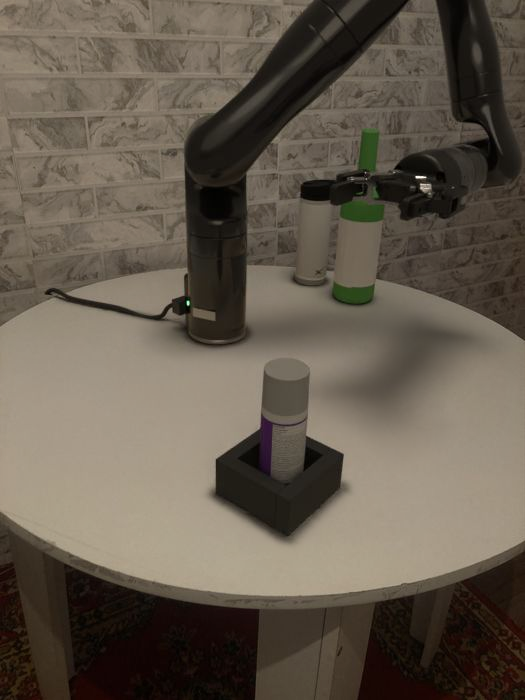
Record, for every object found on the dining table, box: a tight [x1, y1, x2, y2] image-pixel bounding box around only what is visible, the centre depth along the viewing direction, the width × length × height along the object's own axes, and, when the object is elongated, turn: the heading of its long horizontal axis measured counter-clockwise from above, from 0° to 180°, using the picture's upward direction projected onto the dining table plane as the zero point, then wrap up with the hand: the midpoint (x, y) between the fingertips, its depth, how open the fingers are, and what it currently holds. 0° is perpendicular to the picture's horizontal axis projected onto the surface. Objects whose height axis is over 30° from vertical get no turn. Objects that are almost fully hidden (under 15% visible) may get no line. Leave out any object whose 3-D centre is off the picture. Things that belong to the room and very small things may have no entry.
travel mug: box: [294, 178, 336, 287], centre depth 115 cm, size 6×7×20 cm
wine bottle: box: [332, 128, 386, 305], centre depth 106 cm, size 8×8×30 cm
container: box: [259, 357, 311, 486], centre depth 61 cm, size 5×5×15 cm
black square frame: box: [215, 428, 345, 537], centre depth 63 cm, size 10×10×4 cm
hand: (367, 203), depth 63 cm, fingers open, 8 cm apart
